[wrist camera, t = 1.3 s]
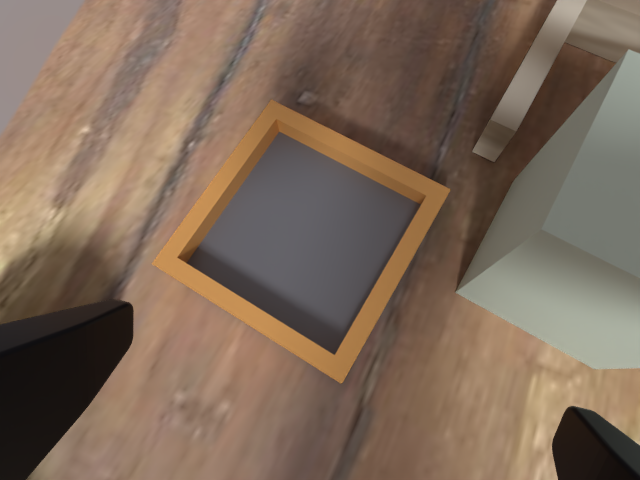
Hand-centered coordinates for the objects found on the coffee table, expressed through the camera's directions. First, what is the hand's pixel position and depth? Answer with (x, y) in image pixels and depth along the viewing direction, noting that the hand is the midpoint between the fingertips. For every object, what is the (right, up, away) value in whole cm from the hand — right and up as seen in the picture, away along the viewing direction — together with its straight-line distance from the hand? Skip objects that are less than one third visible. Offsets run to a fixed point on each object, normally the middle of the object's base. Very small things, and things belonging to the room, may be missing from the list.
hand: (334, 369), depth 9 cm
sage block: (+13, +1, +16) cm, 20 cm away
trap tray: (-1, +3, +17) cm, 17 cm away
